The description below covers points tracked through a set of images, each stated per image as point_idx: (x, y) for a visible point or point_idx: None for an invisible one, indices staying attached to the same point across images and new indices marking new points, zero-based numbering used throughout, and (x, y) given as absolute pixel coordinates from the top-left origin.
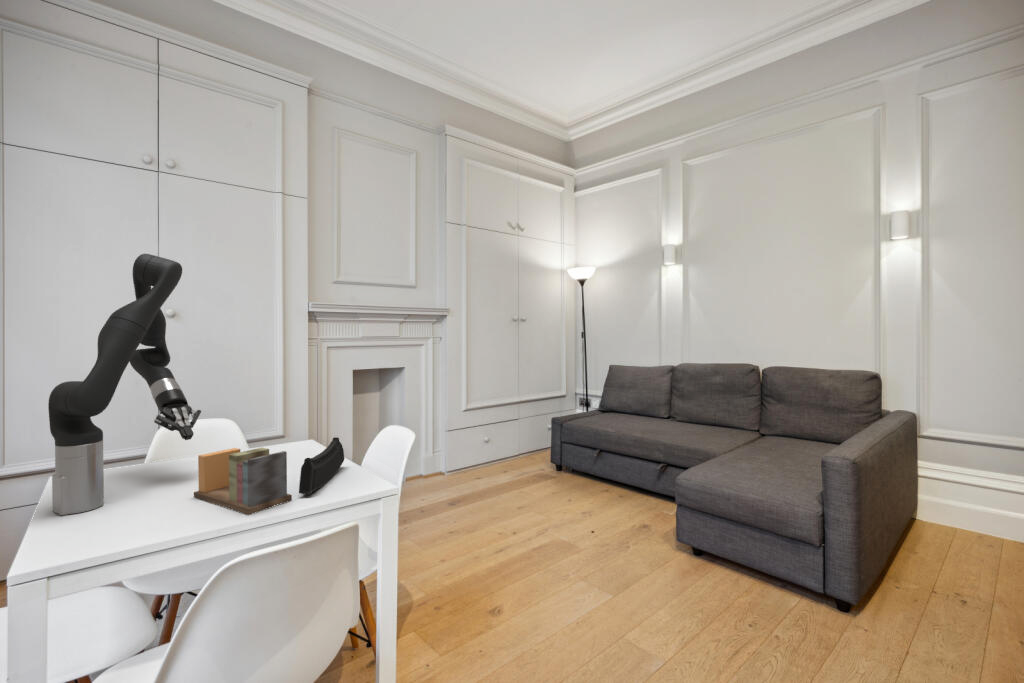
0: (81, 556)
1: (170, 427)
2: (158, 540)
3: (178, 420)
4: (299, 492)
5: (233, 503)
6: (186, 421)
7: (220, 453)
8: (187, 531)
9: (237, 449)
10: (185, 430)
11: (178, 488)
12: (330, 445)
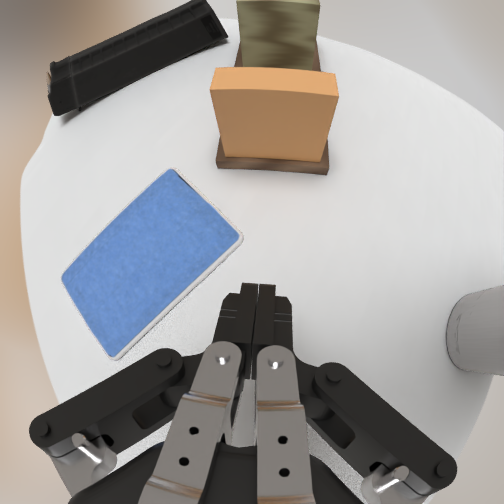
0: (477, 115)
1: (332, 418)
2: (419, 77)
3: (293, 403)
4: (227, 35)
5: (316, 63)
6: (219, 384)
7: (283, 68)
8: (390, 68)
9: (222, 69)
10: (271, 315)
11: (306, 290)
12: (84, 51)
